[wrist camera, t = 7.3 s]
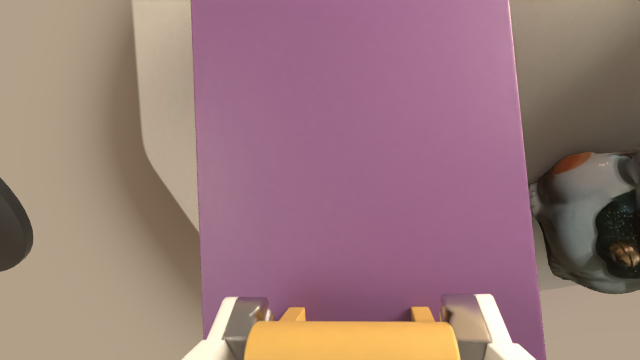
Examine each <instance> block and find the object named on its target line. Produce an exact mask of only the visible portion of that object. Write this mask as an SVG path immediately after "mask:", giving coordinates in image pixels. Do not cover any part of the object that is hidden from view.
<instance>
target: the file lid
mask: <svg viewBox="0 0 640 360" xmlns="http://www.w3.org/2000/svg"><path fill="white" fill-rule="evenodd" d="M191 20H192V47H193V73H194V100H195V127H196V153H197V180H198V207H199V233H200V260H201V286H202V312H203V337H204V338H203V340H206V339H207V337H208V335H209V332H210V330H211V327H212V325H213V322H214V320H215V318H216V315H217V313H218V310H219V308H220V306H221V303H222V301H223V300H224V299H225V297H267V299H268V302H269V305H268V308H269V309H270V310H272V312H273V315H274V321H259V322H257V323H256V324H255V325H253V327H252V328H251V330H250V333H249V335H248V338H247V342H246V347H245V352H244V360H461V358H460V353H459V348H458V344H457V340H456V337H455V334H454V331H453V329H452V327H451V325H450V324H449V323H448V322H440V318H439V313H440V309H441V308H442V307H441V302H440V299H441V295H446V294H491V295H492V296H493V297H494V300H495V302H496V305H497V307H498V309H499V312H500V314H501V317H502V319H503V321H504V324H505V326H506V329H507V331H508V333H509V336H510V338H511V341H512V343H514V344H519V345H520V346H521V347H522V348H523V349H525V350H526V351H527V352H528V353H529V354H530V355H531V356H532V357H534V358H535V359H536V360H546V355H545V354H546V353H545V344H544V334H543V325H542V316H541V306H540V296H539V286H538V276H537V267H536V257H535V247H534V238H533V228H532V219H531V209H530V199H529V190H528V180H527V170H526V161H525V151H524V142H523V132H522V122H521V113H520V103H519V94H518V84H517V74H516V65H515V55H514V45H513V36H512V26H511V17H510V7H509V0H191Z"/></svg>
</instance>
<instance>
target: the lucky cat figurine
mask: <svg viewBox="0 0 640 360" xmlns="http://www.w3.org/2000/svg"><path fill="white" fill-rule="evenodd" d="M529 199H530V209H531V211H532V214H533V216H534V217H535V218H536V220H537V221H538V223H539V225H540V227H541V230H542V232H543V237H544V242H545V247H546V252H547V258H548V264H549V266H550V269H551V271H552V273H553V274H554V275H555V276H557V277H560V278H561V279H564V280H571V281H574V282H576V283H577V284H580V285H582V286H584V287H587V288H589V289H591V290H594V291H598V292H602V293H608V294H623V293H629V292H633V291H636V290H640V149H638V150H632V151H625V152H616V153H603V154H597V153H593V152H582V153H578V154H574V155H570V156H567V157H566V158H564V159H563V160H561V161H560V162H559V163H557V164H556V165H555V166H554V167H553V168H552V169H550V170H549V171H548V172H547V173H545V174H544V175H543V176H542V177H540V179H539V180H538V181H537V182H536V183H533V184H531V186H530V189H529Z"/></svg>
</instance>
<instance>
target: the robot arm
mask: <svg viewBox="0 0 640 360" xmlns="http://www.w3.org/2000/svg"><path fill="white" fill-rule="evenodd" d="M440 302H441V307H442V308H441V309H440V313H439V318H440V322H448V323H449V324H450V325H451V327H452V329H453V331H454V334H455V337H456V340H457V344H458V348H459V353H460V358H461V360H536V359H535V358H534V357H532V356H531V355H530V354H529V353H528V352H527V351H526V350H525V349H523V348H522V347H521V346H520V345H519V344H514V343H512V341H511V338H510V336H509V333H508V331H507V329H506V326H505V324H504V321H503V319H502V317H501V314H500V312H499V309H498V307H497V305H496V302H495V300H494V297H493V296H492V295H491V294H446V295H441V299H440ZM268 305H269V302H268V299H267V297H225V299H224V300H223V301H222V303H221V306H220V308H219V310H218V313H217V315H216V318H215V320H214V322H213V325H212V327H211V330H210V332H209V335H208V337H207V339H206V340H202V341H201V342H200V343H199V344H197V345H196V346H195V347H194V348H193V349H192V350H191V351H190V352H189V353H188V354H187V355H186V356H185V357H184V358H183V359H182V360H244V352H245V347H246V342H247V338H248V335H249V333H250V330H251V328H252V327H253V325H255V324H256V323H257V322H259V321H274V315H273V312H272V310H270V309H269V308H268Z"/></svg>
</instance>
